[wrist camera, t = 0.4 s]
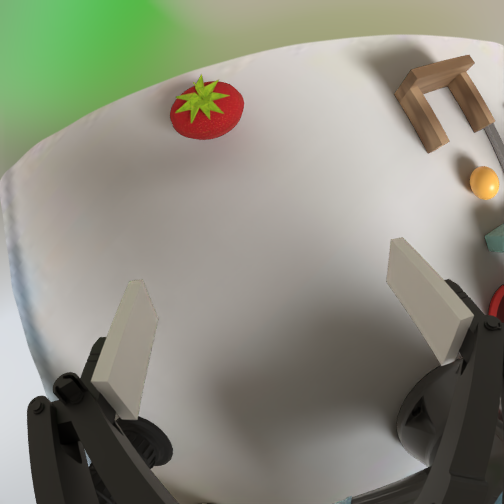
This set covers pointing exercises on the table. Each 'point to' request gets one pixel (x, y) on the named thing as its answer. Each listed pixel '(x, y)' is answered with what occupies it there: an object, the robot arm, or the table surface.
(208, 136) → the strawberry
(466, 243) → the table surface
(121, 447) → the robot arm
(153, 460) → the handle grip
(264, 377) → the table surface
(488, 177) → the ball
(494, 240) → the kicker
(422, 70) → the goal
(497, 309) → the canned food
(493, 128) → the rail
